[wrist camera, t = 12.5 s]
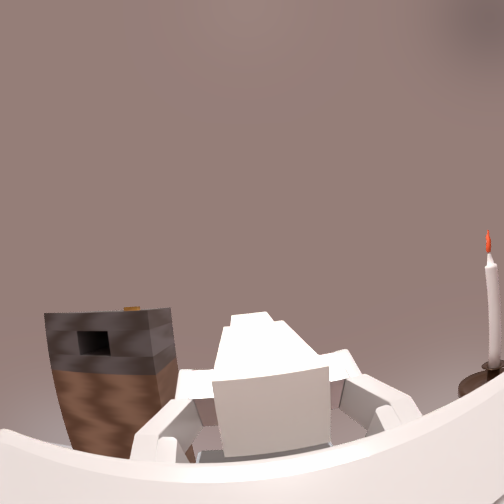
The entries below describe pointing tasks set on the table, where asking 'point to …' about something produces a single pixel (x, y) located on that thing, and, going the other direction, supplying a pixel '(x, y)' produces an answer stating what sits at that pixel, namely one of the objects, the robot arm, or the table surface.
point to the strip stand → (112, 374)
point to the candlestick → (494, 362)
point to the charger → (269, 388)
